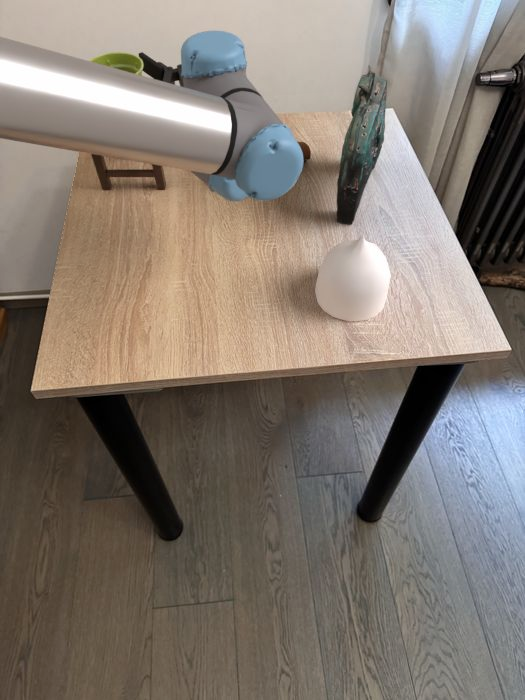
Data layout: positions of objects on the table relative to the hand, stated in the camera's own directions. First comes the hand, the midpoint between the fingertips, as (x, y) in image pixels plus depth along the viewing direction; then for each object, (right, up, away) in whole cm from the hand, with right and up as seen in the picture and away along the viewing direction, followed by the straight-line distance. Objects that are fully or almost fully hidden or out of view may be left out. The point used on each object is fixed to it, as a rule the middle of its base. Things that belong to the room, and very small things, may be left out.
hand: (106, 74), depth 84 cm
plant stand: (+2, -12, +12) cm, 17 cm away
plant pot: (+2, -6, +4) cm, 7 cm away
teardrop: (+39, -37, -5) cm, 54 cm away
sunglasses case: (+25, -11, +13) cm, 30 cm away
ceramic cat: (+42, -17, +9) cm, 47 cm away
